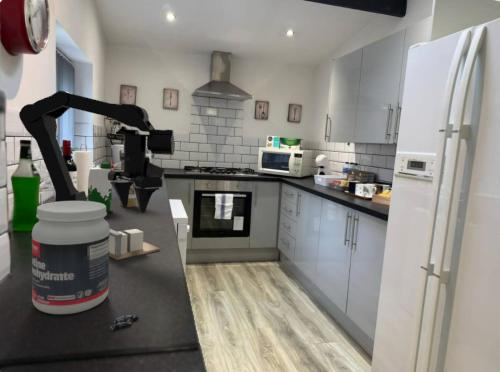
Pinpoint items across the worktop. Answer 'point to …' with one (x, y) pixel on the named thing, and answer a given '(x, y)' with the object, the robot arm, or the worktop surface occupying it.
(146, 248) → the board
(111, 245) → the bracketed cream block
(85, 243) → the supplement tub
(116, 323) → the dark grey lumpy piece
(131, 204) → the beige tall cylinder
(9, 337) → the worktop surface
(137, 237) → the stub
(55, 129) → the robot arm
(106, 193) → the milk carton
